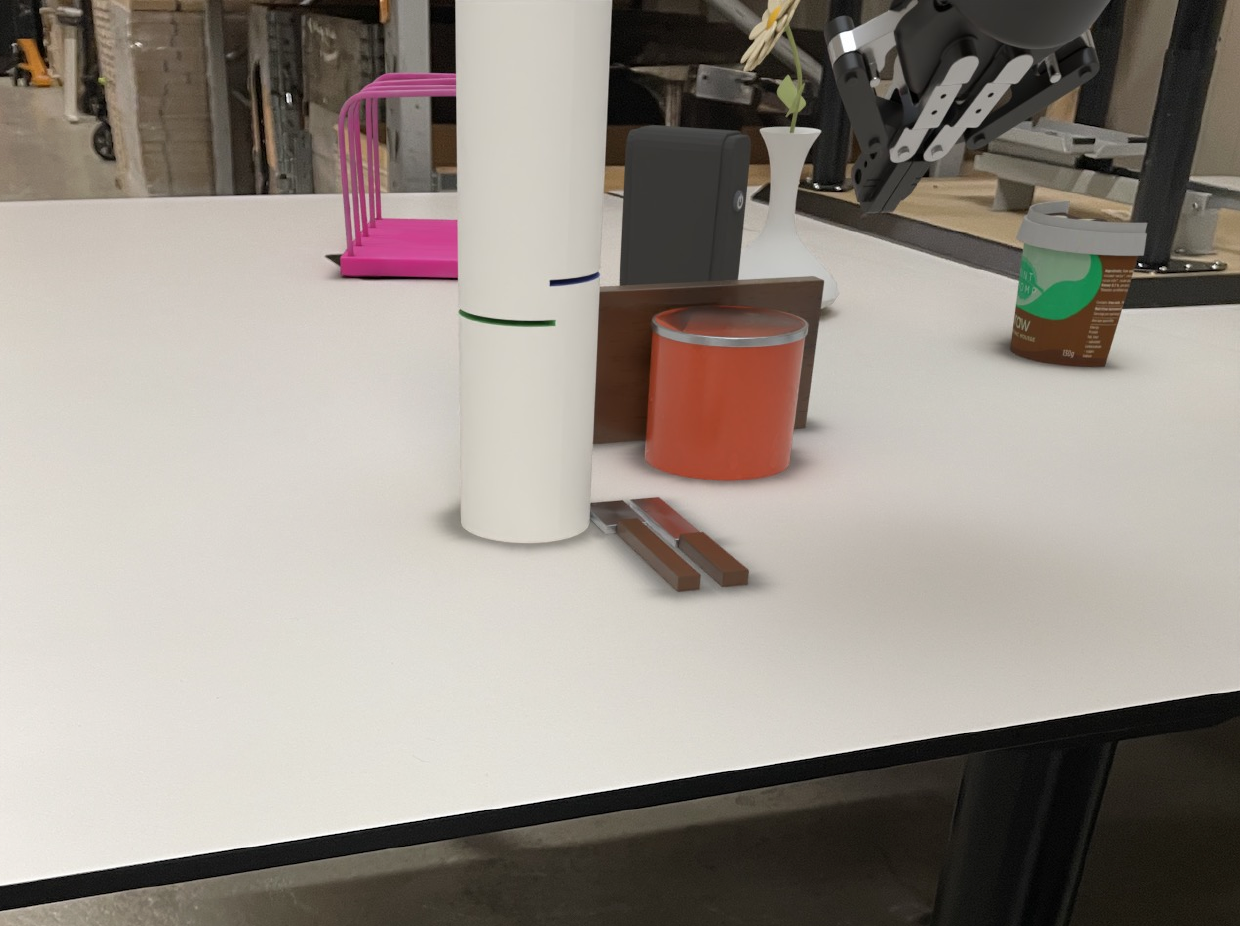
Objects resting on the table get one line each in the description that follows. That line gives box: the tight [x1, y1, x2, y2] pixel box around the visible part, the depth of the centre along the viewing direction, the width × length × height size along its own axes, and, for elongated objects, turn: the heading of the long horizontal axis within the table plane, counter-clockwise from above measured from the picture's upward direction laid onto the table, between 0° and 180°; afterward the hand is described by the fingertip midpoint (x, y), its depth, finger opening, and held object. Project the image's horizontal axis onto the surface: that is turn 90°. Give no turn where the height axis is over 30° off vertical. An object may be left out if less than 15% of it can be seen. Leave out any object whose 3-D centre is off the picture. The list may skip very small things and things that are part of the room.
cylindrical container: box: [454, 0, 613, 544], centre depth 71 cm, size 7×7×25 cm
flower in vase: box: [738, 0, 840, 310], centre depth 116 cm, size 13×11×25 cm
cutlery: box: [590, 496, 750, 593], centre depth 75 cm, size 13×5×1 cm, turn 16°
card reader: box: [618, 124, 752, 286], centre depth 109 cm, size 9×4×15 cm, turn 57°
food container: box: [1009, 200, 1148, 368], centre depth 109 cm, size 12×6×10 cm, turn 10°
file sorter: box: [337, 72, 458, 279], centre depth 140 cm, size 17×25×16 cm
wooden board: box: [593, 276, 824, 445], centre depth 90 cm, size 16×2×9 cm, turn 106°
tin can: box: [644, 305, 808, 482], centre depth 86 cm, size 9×9×8 cm
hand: (871, 196), depth 68 cm, fingers closed
